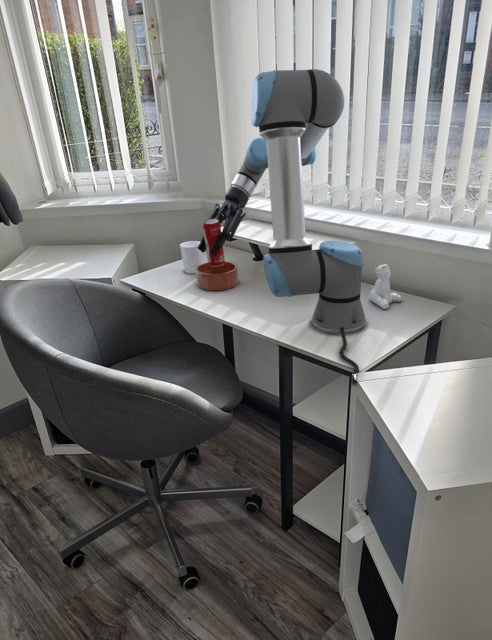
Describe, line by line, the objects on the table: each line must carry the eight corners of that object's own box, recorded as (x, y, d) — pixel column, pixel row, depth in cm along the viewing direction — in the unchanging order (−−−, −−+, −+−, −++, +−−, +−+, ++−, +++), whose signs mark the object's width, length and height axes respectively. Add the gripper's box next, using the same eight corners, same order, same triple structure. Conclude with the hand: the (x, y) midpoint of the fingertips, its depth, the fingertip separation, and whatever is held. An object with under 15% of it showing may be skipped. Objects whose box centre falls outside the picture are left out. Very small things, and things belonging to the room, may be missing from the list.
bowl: (232, 292, 182) (230, 275, 178) (192, 290, 184) (190, 273, 181) (242, 278, 193) (241, 261, 190) (204, 276, 196) (202, 260, 193)
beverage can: (226, 261, 188) (222, 217, 180) (223, 267, 182) (218, 222, 174) (209, 261, 188) (204, 218, 180) (205, 268, 183) (200, 223, 175)
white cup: (179, 273, 200) (176, 246, 194) (188, 266, 206) (185, 240, 201) (199, 274, 198) (196, 247, 192) (207, 268, 204) (204, 241, 199)
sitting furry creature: (385, 310, 164) (388, 272, 158) (362, 303, 169) (364, 266, 163) (402, 301, 170) (406, 263, 164) (379, 294, 175) (382, 258, 169)
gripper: (265, 202, 178) (231, 263, 177) (228, 195, 190) (196, 252, 189) (252, 188, 172) (217, 251, 171) (215, 182, 184) (182, 241, 183)
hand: (206, 252), depth 180 cm, fingers closed on beverage can, 6 cm apart
